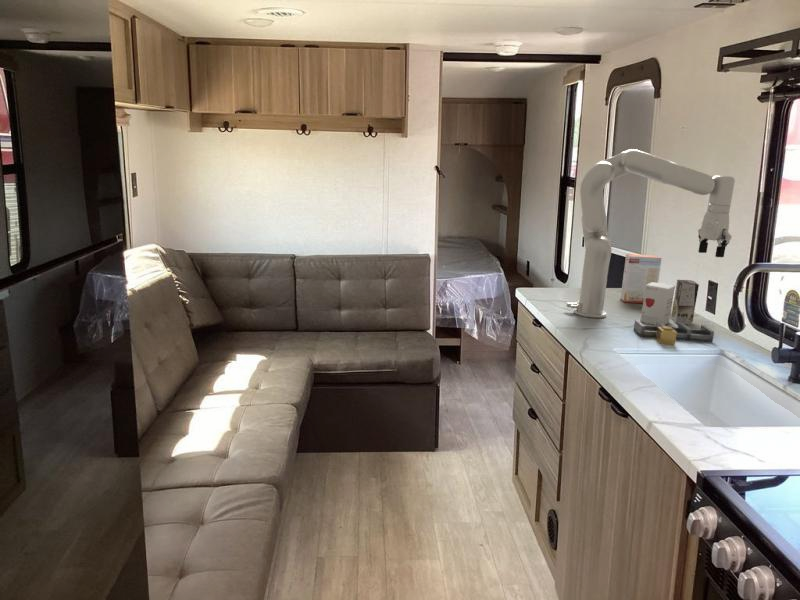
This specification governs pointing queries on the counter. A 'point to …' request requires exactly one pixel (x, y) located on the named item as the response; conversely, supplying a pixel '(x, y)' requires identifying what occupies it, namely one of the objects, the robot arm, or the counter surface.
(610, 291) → the counter surface
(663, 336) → the cage nut
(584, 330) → the counter surface
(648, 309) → the supplement box
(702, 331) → the grey compartment tray
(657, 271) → the cracker box
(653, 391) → the counter surface
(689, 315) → the coffee box
